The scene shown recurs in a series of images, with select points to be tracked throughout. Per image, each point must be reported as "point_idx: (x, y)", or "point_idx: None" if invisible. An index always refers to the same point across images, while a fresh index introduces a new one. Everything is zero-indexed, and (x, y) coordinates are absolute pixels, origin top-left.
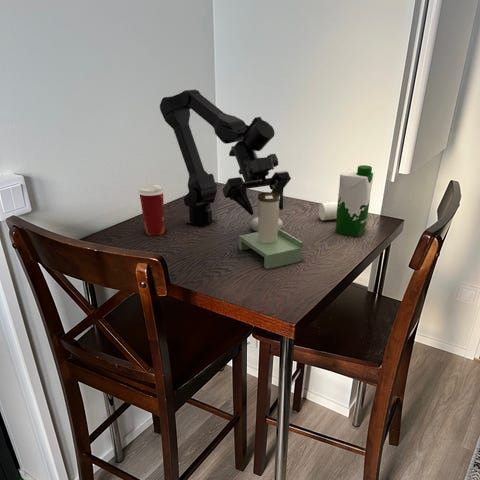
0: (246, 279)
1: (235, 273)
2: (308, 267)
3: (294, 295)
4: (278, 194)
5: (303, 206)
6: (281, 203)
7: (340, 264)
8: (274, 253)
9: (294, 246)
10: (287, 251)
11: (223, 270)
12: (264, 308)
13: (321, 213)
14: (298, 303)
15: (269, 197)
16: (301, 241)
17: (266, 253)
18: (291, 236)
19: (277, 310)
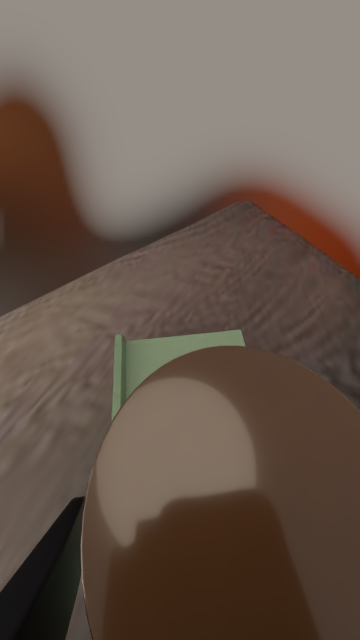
0: (289, 317)
1: (312, 352)
2: (134, 322)
3: (216, 244)
4: (94, 489)
5: None
6: (56, 541)
7: (60, 311)
8: (217, 333)
9: (137, 357)
10: (173, 336)
11: (344, 380)
12: (274, 230)
13: None
14: (220, 227)
15: (264, 395)
16: (115, 341)
17: (239, 340)
18: (118, 398)
19: (257, 222)
